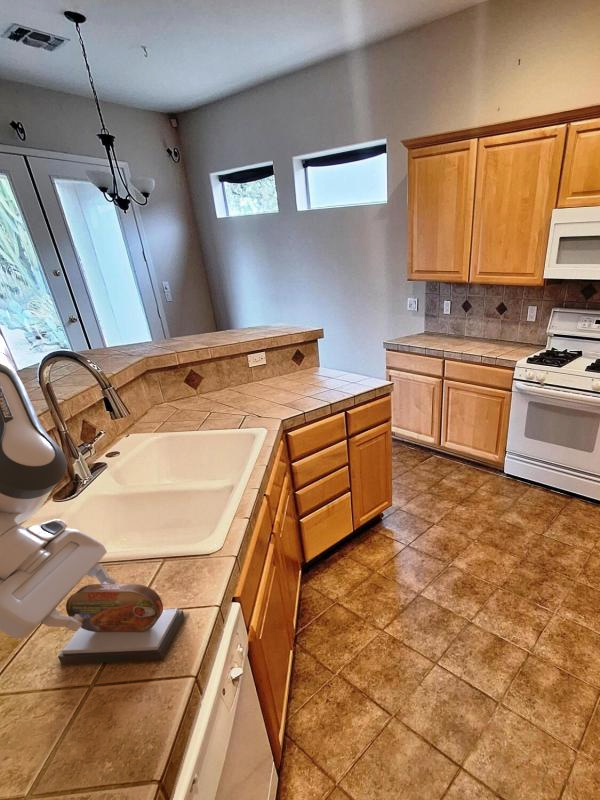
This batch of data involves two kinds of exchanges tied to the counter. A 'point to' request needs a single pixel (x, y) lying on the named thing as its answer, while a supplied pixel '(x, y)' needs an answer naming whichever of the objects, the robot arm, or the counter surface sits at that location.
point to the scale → (123, 643)
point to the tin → (116, 607)
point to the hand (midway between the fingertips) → (98, 605)
